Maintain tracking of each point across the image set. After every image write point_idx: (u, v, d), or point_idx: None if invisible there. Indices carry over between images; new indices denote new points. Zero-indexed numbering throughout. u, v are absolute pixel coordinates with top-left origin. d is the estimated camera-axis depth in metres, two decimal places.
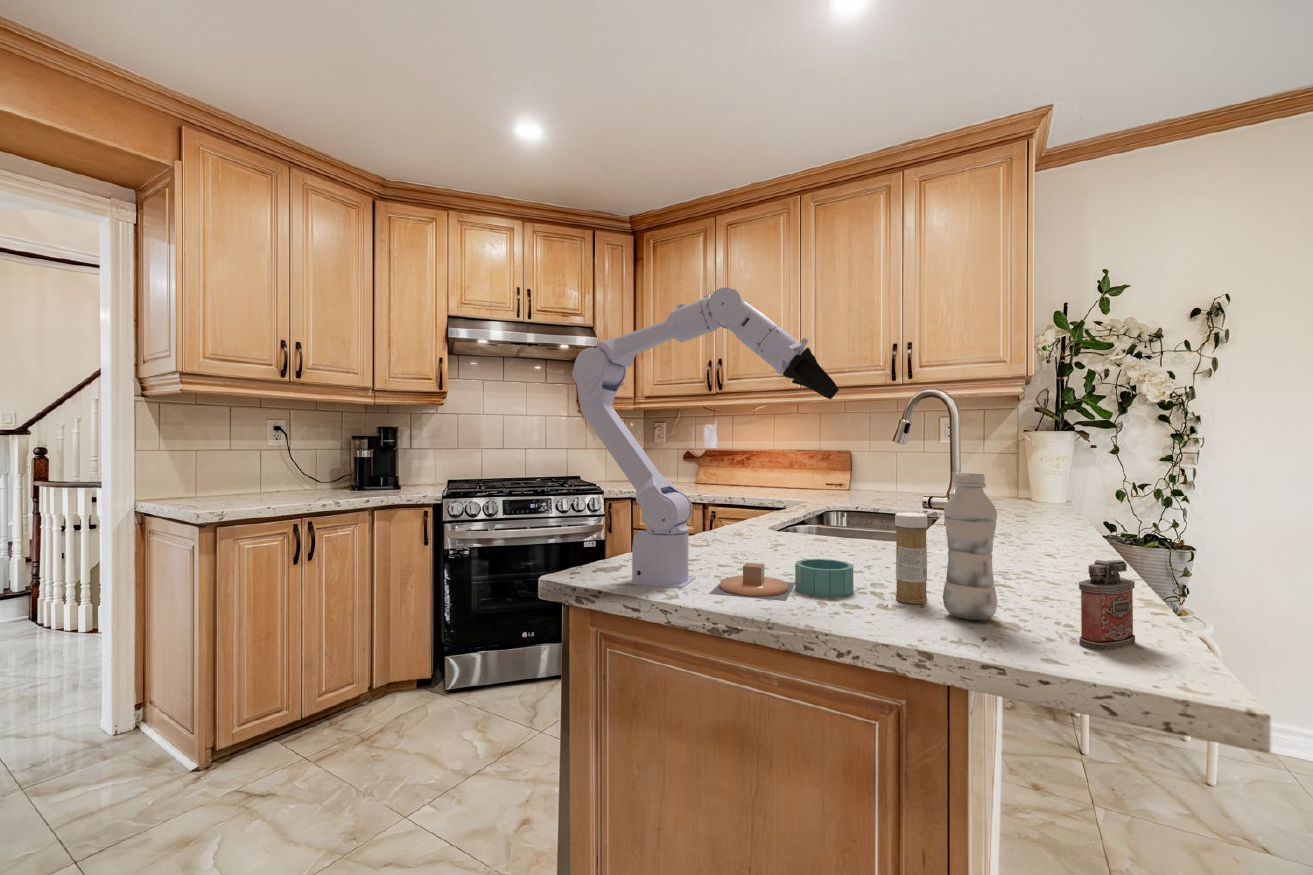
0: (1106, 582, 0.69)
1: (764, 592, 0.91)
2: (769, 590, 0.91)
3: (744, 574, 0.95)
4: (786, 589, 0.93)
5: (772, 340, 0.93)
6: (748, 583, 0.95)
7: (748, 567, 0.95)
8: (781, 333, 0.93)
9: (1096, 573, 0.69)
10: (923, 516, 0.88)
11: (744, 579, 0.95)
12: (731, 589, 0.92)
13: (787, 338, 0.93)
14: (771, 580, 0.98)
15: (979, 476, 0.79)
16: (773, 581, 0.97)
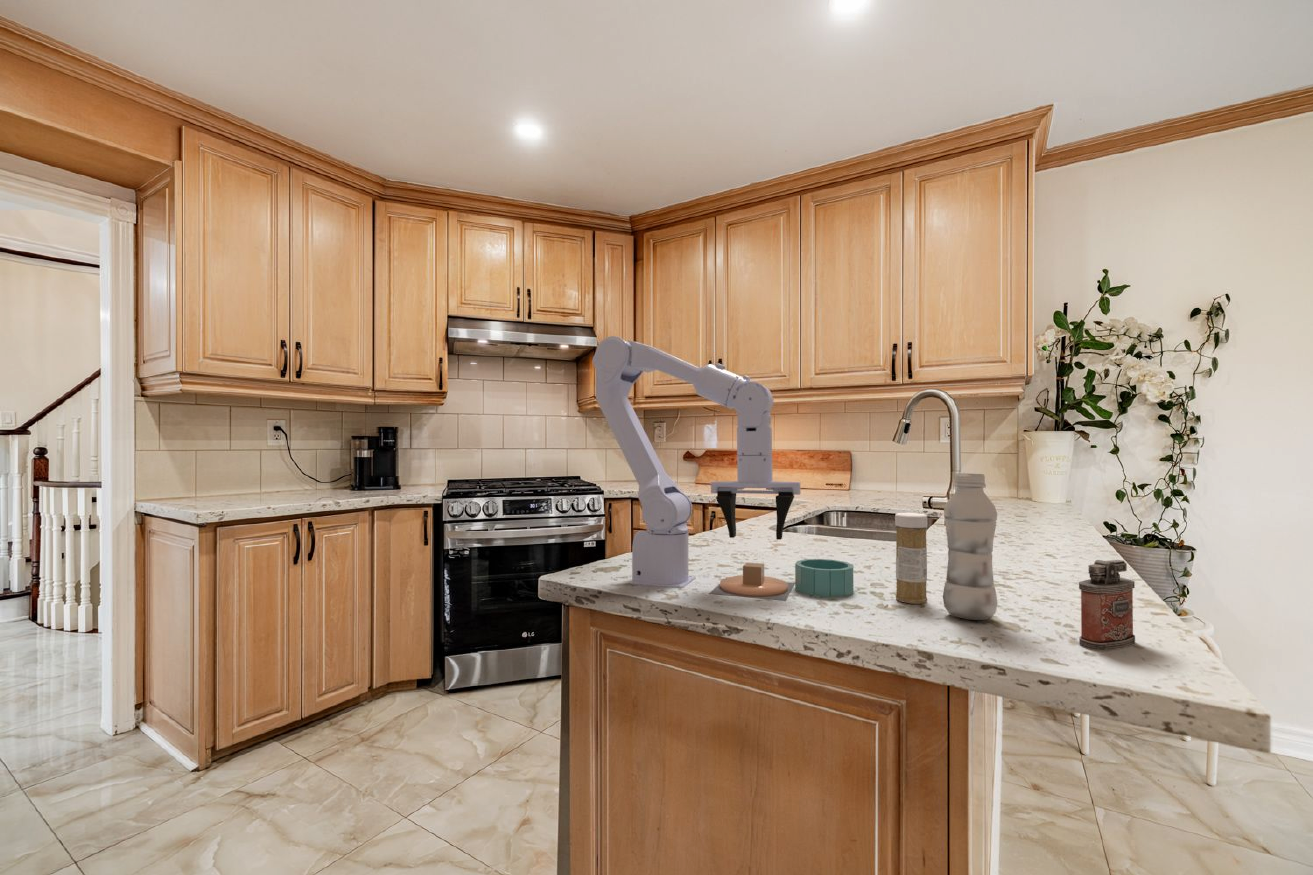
0: (1106, 582, 0.69)
1: (764, 592, 0.91)
2: (769, 590, 0.91)
3: (744, 574, 0.95)
4: (786, 589, 0.93)
5: (737, 462, 0.97)
6: (748, 583, 0.95)
7: (748, 567, 0.95)
8: (740, 464, 0.95)
9: (1096, 573, 0.69)
10: (923, 516, 0.88)
11: (744, 579, 0.95)
12: (731, 589, 0.92)
13: (740, 471, 0.95)
14: (771, 580, 0.98)
15: (979, 476, 0.79)
16: (773, 581, 0.97)
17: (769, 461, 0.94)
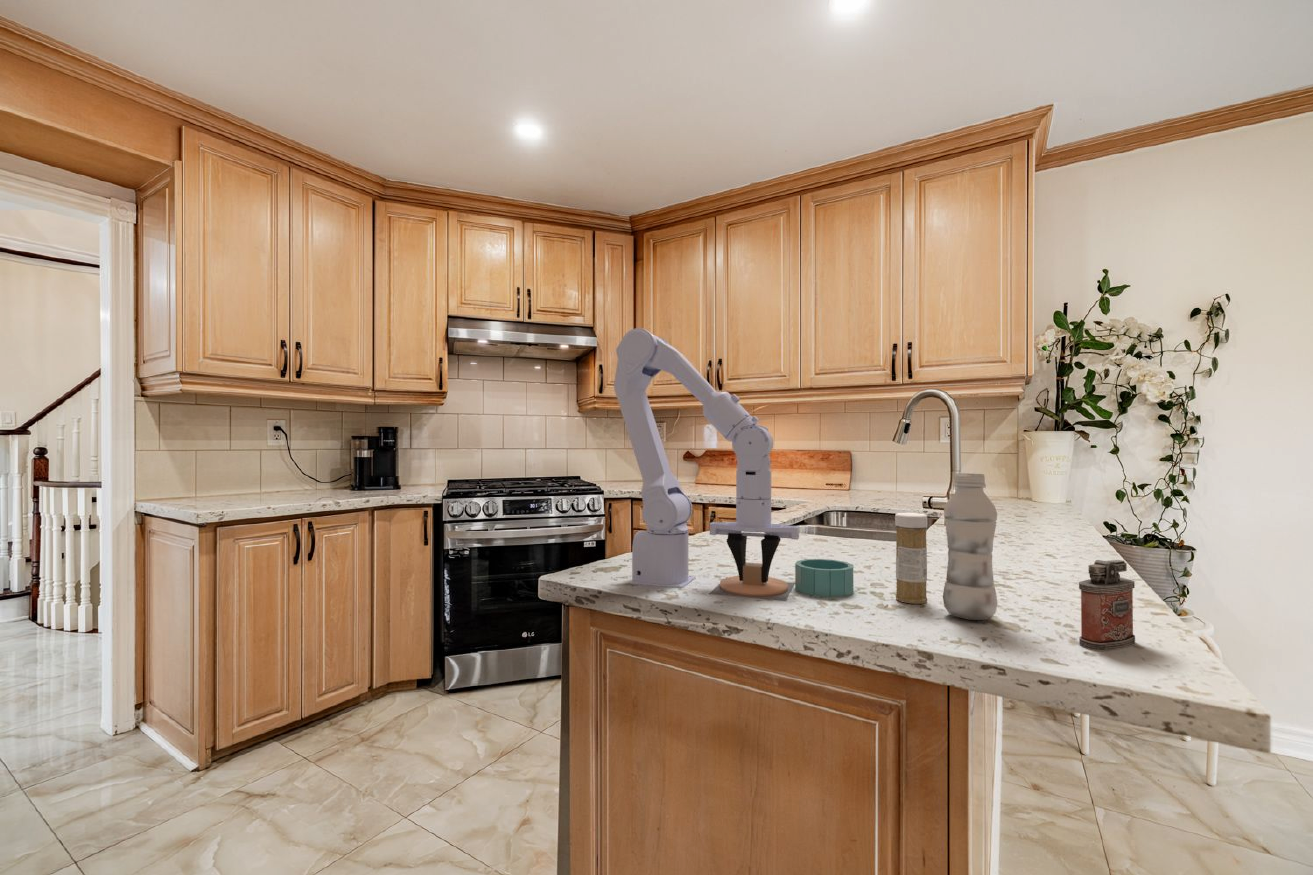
0: (1106, 582, 0.69)
1: (764, 592, 0.91)
2: (769, 590, 0.91)
3: (744, 574, 0.95)
4: (786, 589, 0.93)
5: (736, 504, 0.97)
6: (748, 583, 0.95)
7: (748, 567, 0.95)
8: (739, 507, 0.95)
9: (1096, 573, 0.69)
10: (923, 516, 0.88)
11: (744, 579, 0.95)
12: (731, 589, 0.92)
13: (739, 514, 0.95)
14: (771, 580, 0.98)
15: (979, 476, 0.79)
16: (773, 581, 0.97)
17: (768, 505, 0.94)
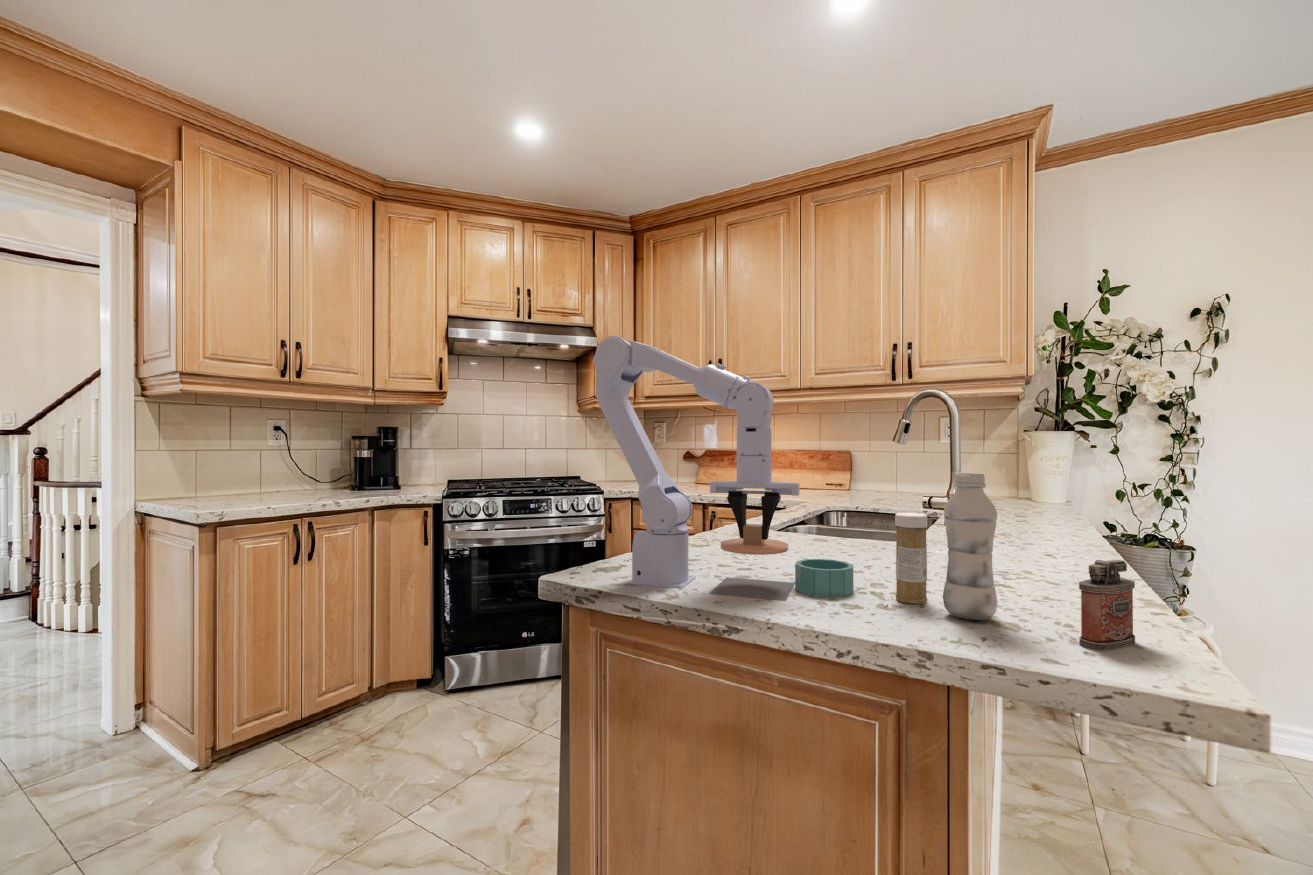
0: (1106, 582, 0.69)
1: (764, 550, 0.91)
2: (769, 548, 0.91)
3: (744, 534, 0.95)
4: (786, 548, 0.93)
5: None
6: (749, 543, 0.95)
7: (748, 527, 0.95)
8: (739, 464, 0.95)
9: (1096, 573, 0.69)
10: (923, 516, 0.88)
11: (744, 539, 0.95)
12: (731, 548, 0.92)
13: (739, 472, 0.95)
14: (771, 541, 0.98)
15: (979, 476, 0.79)
16: (773, 542, 0.97)
17: (769, 462, 0.94)
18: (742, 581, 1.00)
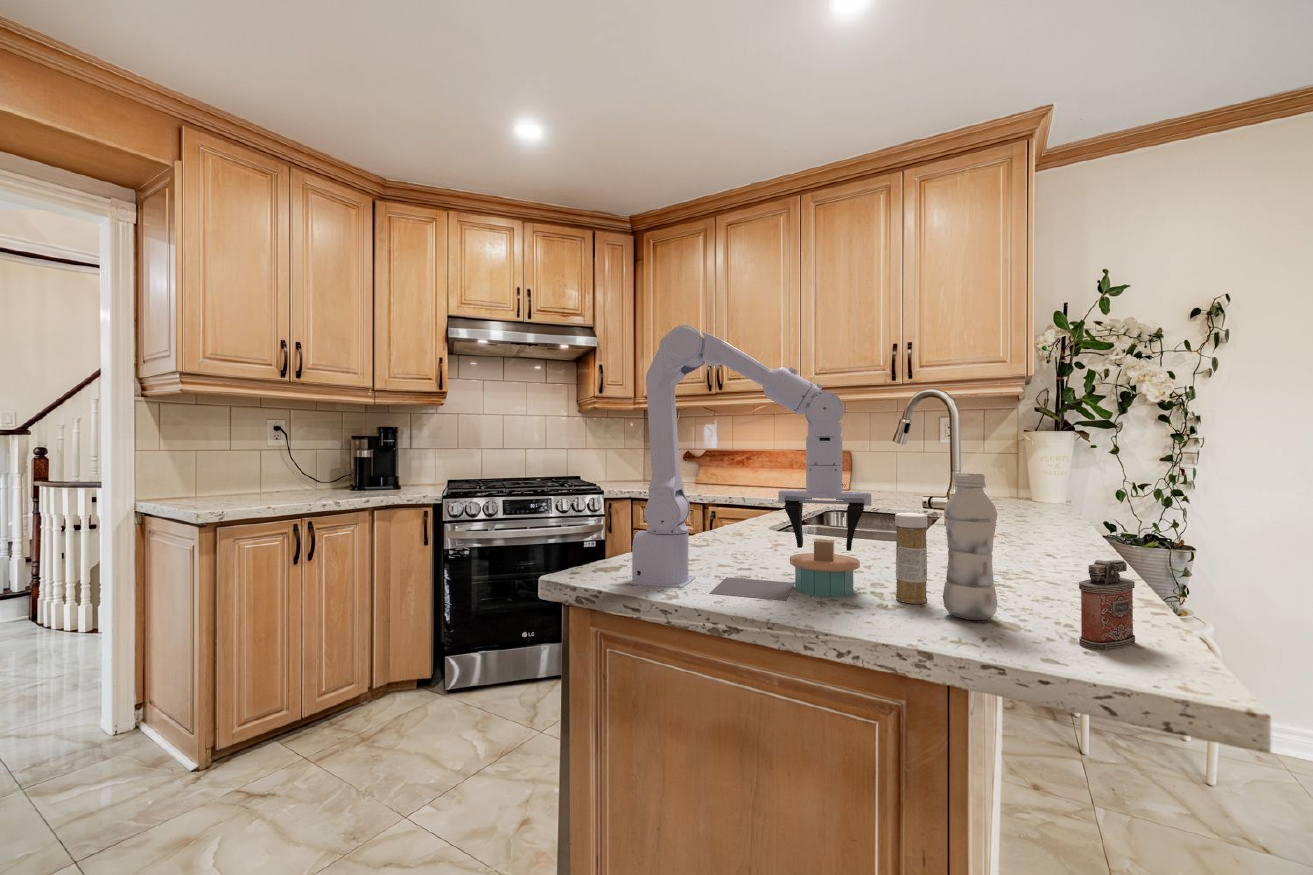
0: (1106, 582, 0.69)
1: (839, 567, 0.90)
2: (843, 565, 0.90)
3: (815, 550, 0.94)
4: (859, 564, 0.93)
5: (806, 472, 0.96)
6: (820, 559, 0.94)
7: (819, 543, 0.94)
8: (810, 474, 0.94)
9: (1096, 573, 0.69)
10: (923, 516, 0.88)
11: (815, 555, 0.94)
12: (804, 564, 0.92)
13: (810, 481, 0.94)
14: (840, 557, 0.97)
15: (979, 476, 0.79)
16: (843, 557, 0.96)
17: (840, 472, 0.93)
18: (742, 581, 1.00)
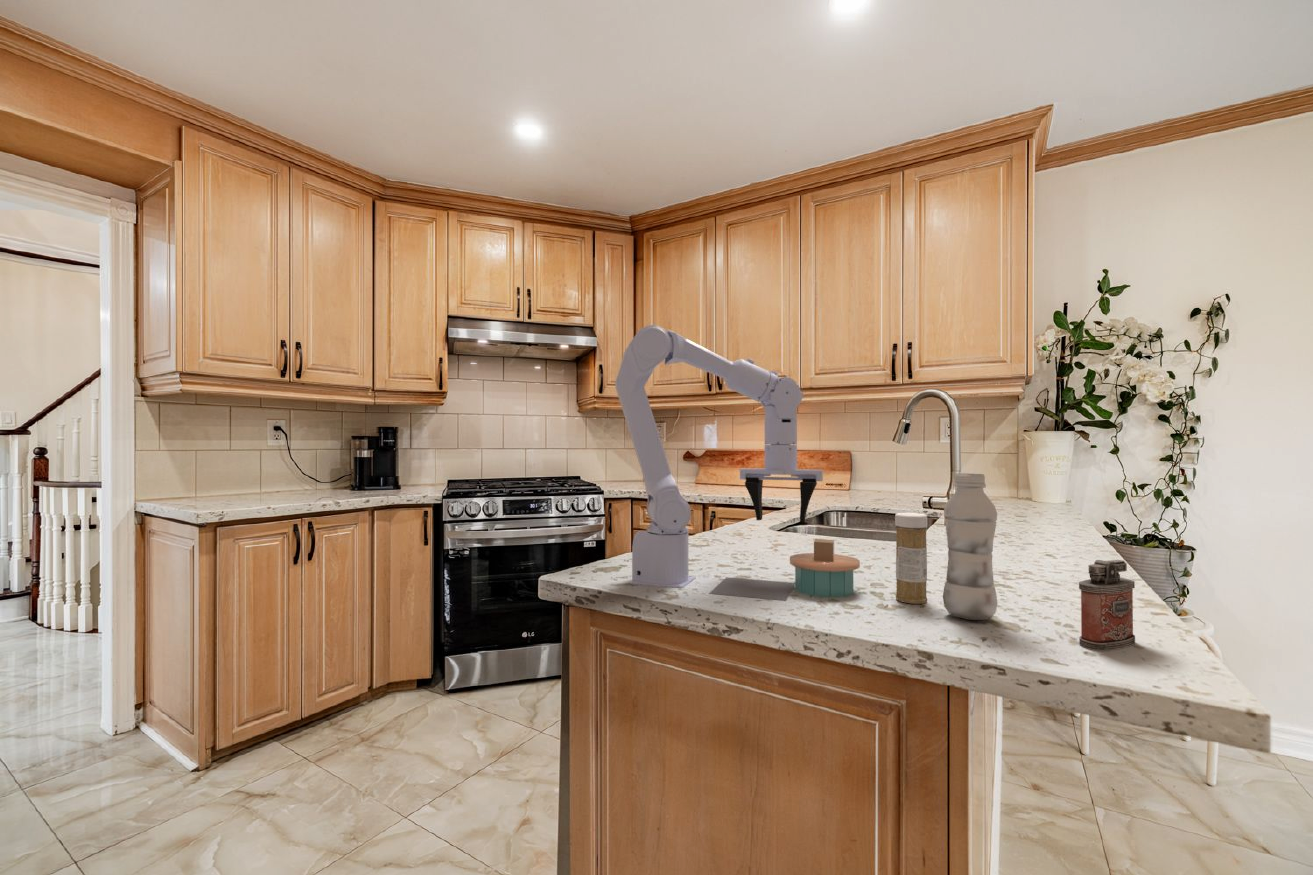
0: (1106, 582, 0.69)
1: (839, 567, 0.90)
2: (843, 565, 0.90)
3: (815, 550, 0.94)
4: (859, 564, 0.93)
5: None
6: (820, 559, 0.94)
7: (819, 543, 0.94)
8: (768, 452, 1.03)
9: (1096, 573, 0.69)
10: (923, 516, 0.88)
11: (815, 555, 0.94)
12: (804, 564, 0.92)
13: (767, 459, 1.03)
14: (840, 557, 0.97)
15: (979, 476, 0.79)
16: (843, 557, 0.96)
17: (794, 450, 1.03)
18: (742, 581, 1.00)
